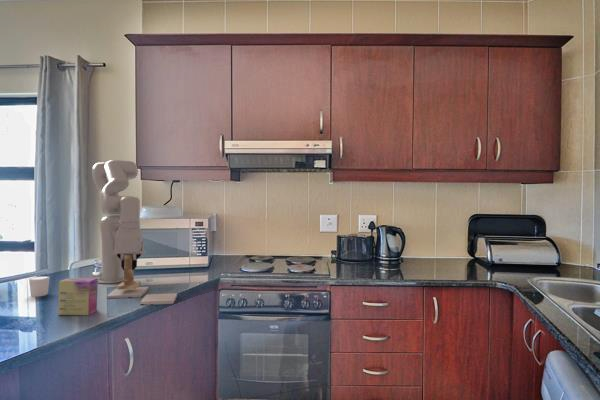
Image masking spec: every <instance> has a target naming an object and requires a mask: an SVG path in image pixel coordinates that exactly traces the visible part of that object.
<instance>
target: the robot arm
mask: <svg viewBox="0 0 600 400" xmlns="http://www.w3.org/2000/svg"><path fill="white" fill-rule="evenodd" d="M91 170H92V171H91V173H92V179H93V182H94V184H95V186H96V189H97V190H98V196H99V202H100V208H101V212H102V214H103V215H105V216H104V217H102V218H101V219H100V222H99V228H100V229H99V230H100V235H101V269H100V270H101V271H100V272H92V274H91V278H92V277H93V278H98V284H117V283H122V282H124V255H125V254H133V260H132V270H134V271H135V270H136V268H137V266H138V259H139V258H140V257H141V256H143V255H145V254H146V253H147V251H146V250H145V248H144V243H143V241H144V240H143V232H142V229H141V219H140V213H141V212H140V209H141V208H140V207H141V206H140V205H141V203H140V202H141V200H140V198H139V197H137V196H130V195H129V196H127V195H126V196H124V195H121V196H120V195H119V193H121V192H123V191H125V190H126V189H127V188H128V187H129V186H130V185H129V184H130V183H129V182H130V181H129V180H134V179H136V178H137V177H138V174H139V173H138V172H139V168H138V165H137V164H136V162H134V161H130V160H122V159H121V160H120V159H119V160H118V159H114V160H113V159H112V160H108V161H106V162H105V161H104V162H96V163H95V164H94V165H93V166H92V169H91Z"/></svg>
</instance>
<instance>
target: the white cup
mask: <svg viewBox="0 0 600 400" xmlns="http://www.w3.org/2000/svg"><path fill="white" fill-rule="evenodd" d="M50 279H51V277H50V276H48V275H47V276H43V275H42V276H41V275H40V276H34V277H31V278H28V281H29V290H30V297H35V298H36V297H37V298H38V297H43V296H47V295H48V293H49V288H50V287H49V285H50Z"/></svg>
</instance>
